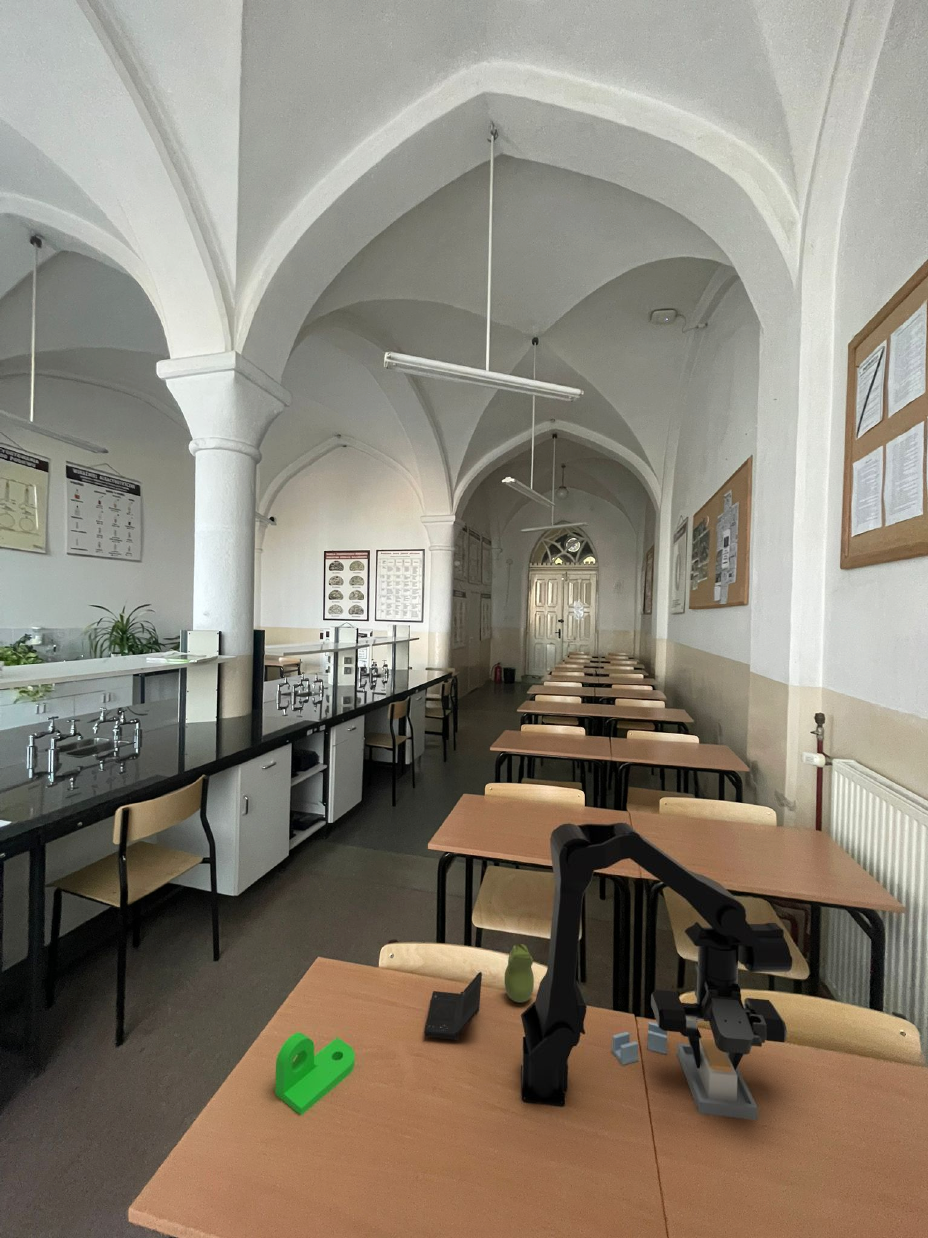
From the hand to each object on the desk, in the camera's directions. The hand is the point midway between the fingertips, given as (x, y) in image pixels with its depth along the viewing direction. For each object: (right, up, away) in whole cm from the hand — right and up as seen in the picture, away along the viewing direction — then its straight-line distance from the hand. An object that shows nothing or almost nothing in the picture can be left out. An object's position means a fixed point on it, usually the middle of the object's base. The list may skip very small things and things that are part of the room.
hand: (714, 1068), depth 85 cm
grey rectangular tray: (0, -3, 0) cm, 3 cm away
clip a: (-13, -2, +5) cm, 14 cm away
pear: (-29, -2, +18) cm, 34 cm away
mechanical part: (-62, -2, -1) cm, 62 cm away
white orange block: (0, -2, 0) cm, 2 cm away
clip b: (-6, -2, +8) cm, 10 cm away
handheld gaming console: (-44, -2, +12) cm, 46 cm away
